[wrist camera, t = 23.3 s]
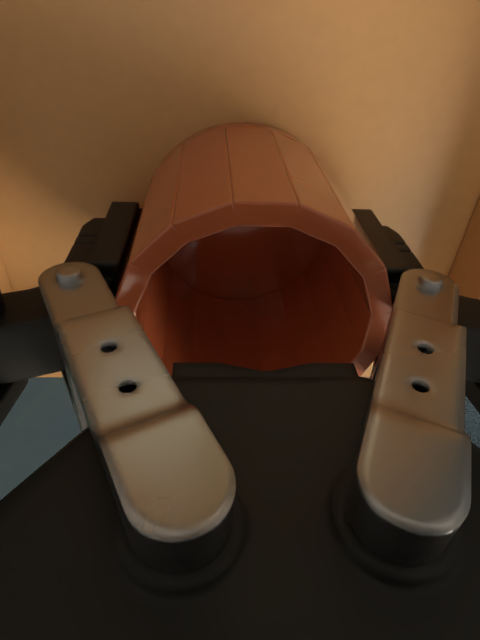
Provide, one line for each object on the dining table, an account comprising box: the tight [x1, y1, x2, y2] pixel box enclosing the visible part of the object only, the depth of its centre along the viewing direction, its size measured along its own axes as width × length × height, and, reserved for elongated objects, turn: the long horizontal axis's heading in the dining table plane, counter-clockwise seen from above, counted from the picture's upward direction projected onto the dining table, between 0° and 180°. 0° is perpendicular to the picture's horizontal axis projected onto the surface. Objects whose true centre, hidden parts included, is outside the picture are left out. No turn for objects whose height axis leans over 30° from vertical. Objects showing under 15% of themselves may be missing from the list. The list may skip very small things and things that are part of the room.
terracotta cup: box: [115, 122, 393, 377], centre depth 12 cm, size 6×6×6 cm
